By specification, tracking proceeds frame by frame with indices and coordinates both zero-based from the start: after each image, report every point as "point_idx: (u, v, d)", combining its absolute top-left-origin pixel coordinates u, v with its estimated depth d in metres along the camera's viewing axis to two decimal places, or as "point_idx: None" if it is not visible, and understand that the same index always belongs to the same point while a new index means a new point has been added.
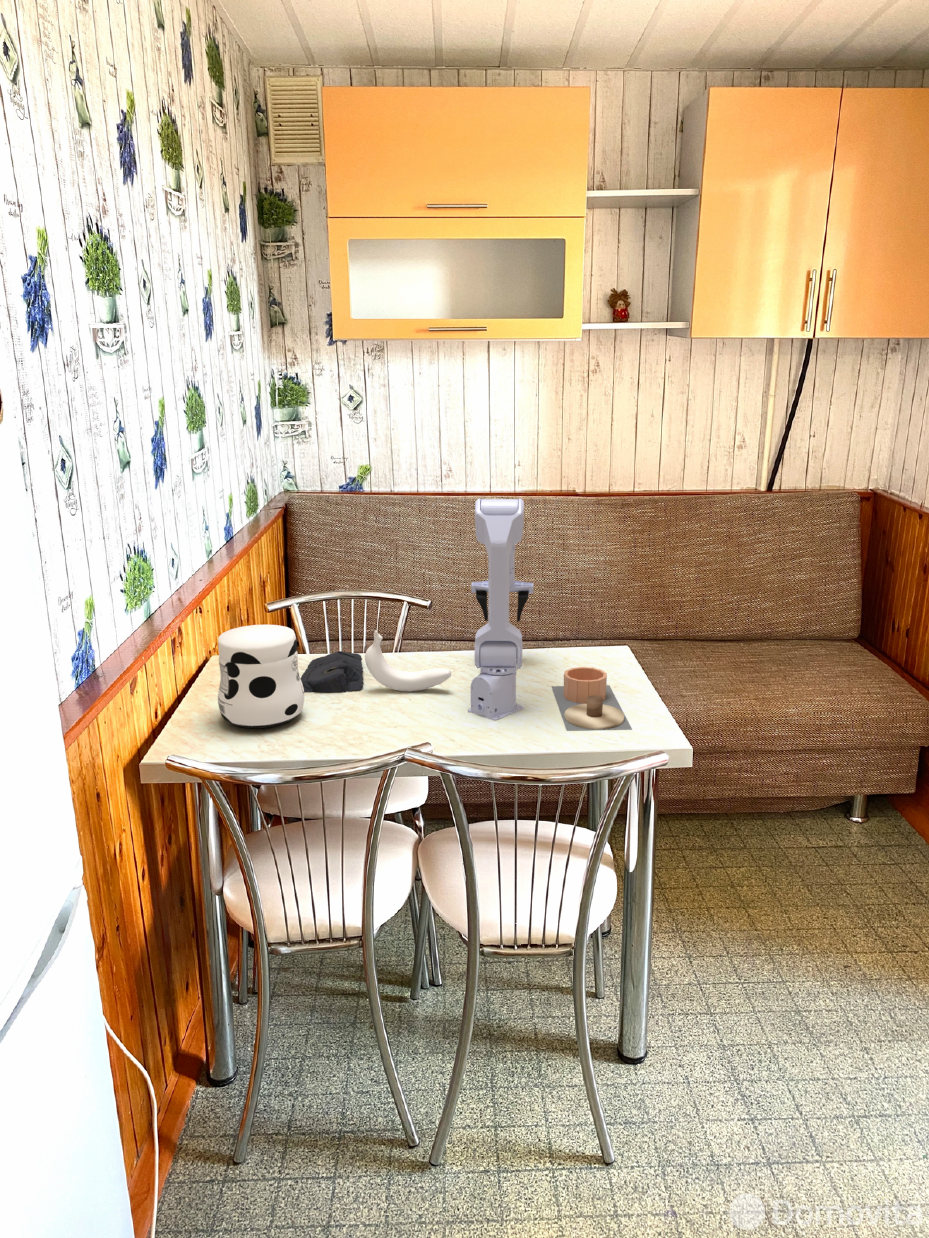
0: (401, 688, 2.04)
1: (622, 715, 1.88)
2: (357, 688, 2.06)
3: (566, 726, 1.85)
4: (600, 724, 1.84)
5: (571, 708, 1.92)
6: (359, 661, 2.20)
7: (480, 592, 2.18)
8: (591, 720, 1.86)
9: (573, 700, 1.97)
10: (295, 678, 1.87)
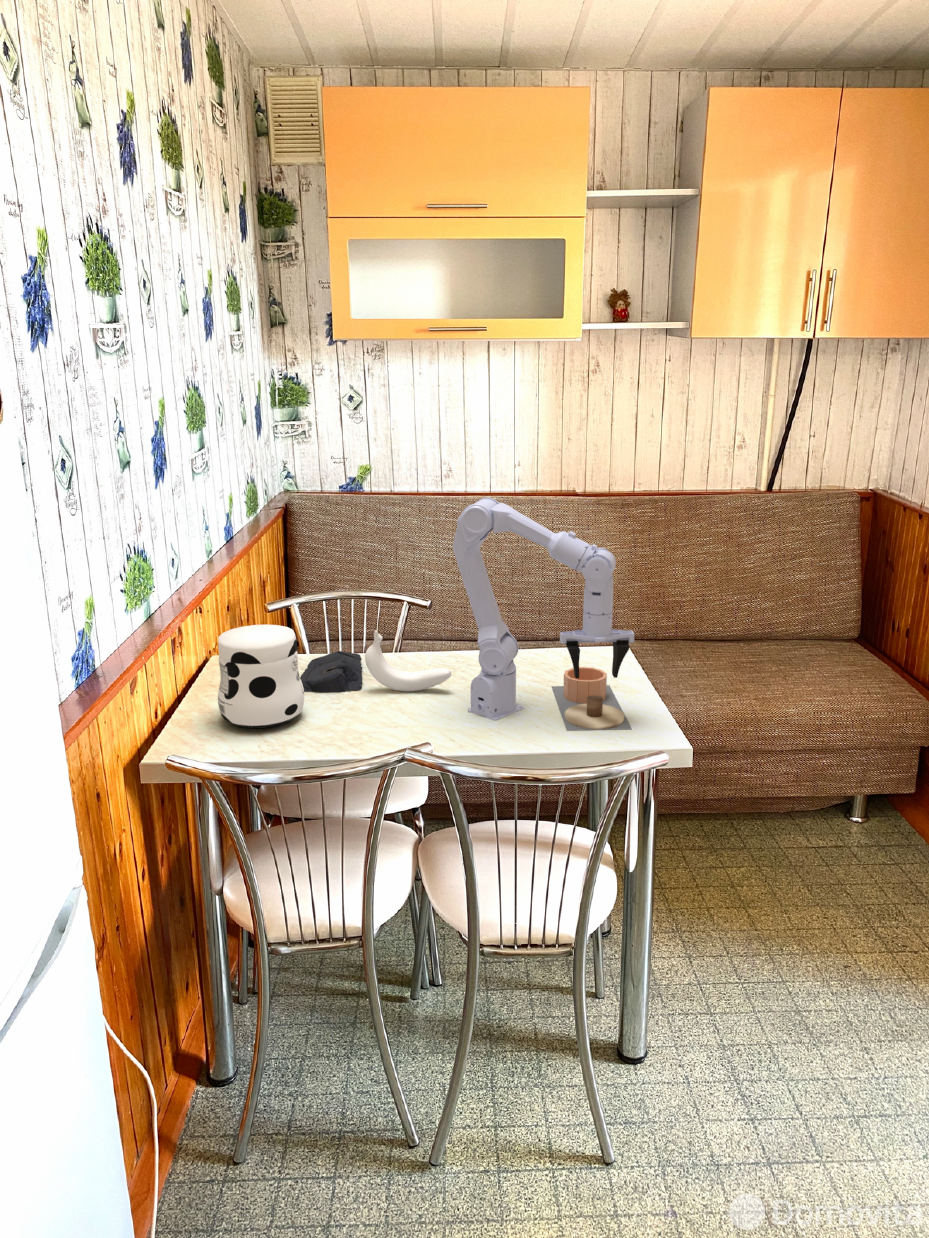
0: (401, 688, 2.04)
1: (622, 715, 1.88)
2: (356, 688, 2.06)
3: (566, 726, 1.85)
4: (600, 724, 1.84)
5: (571, 708, 1.92)
6: (358, 661, 2.20)
7: None
8: (591, 720, 1.86)
9: (573, 700, 1.97)
10: (295, 678, 1.87)
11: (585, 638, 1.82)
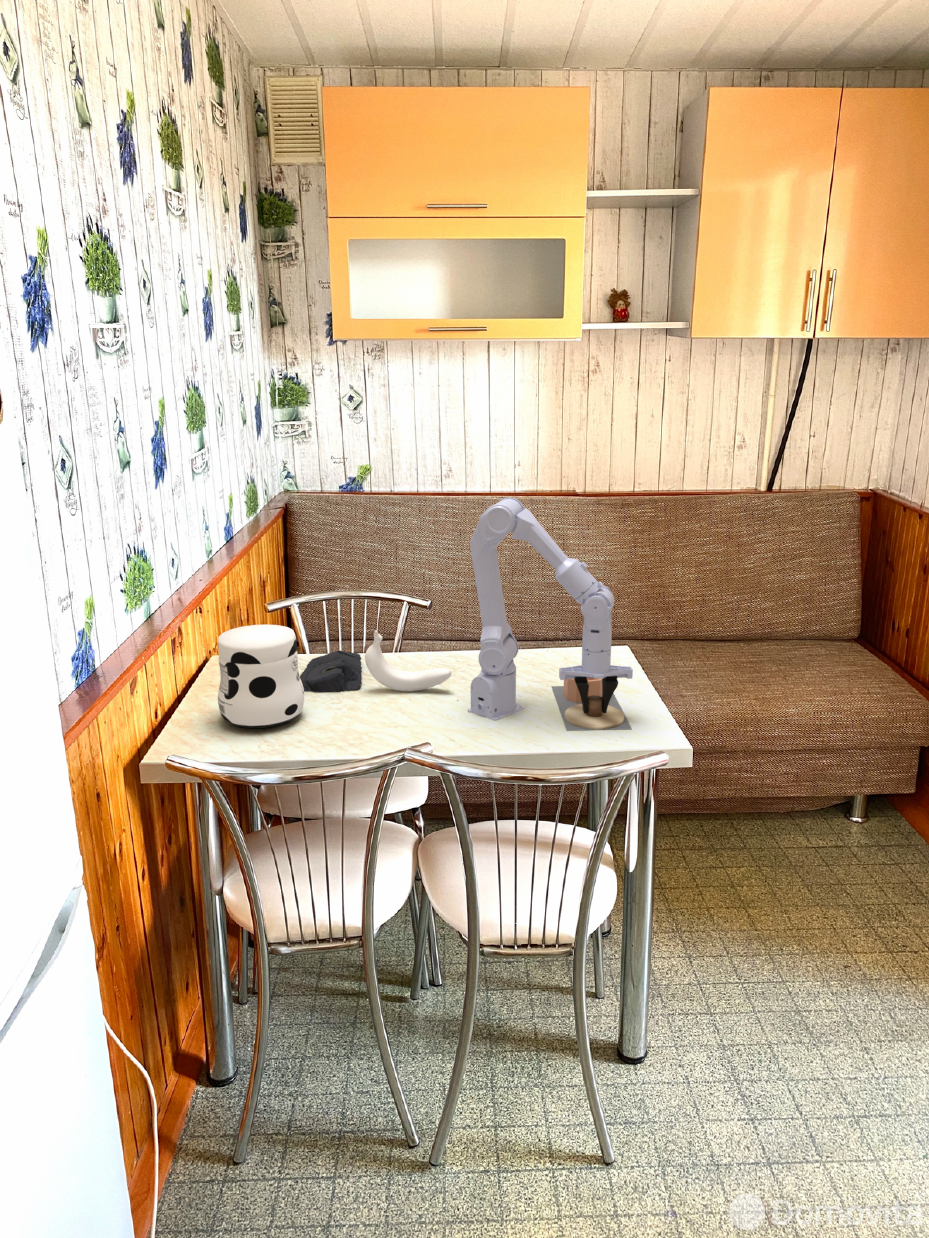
0: (401, 688, 2.04)
1: (622, 715, 1.88)
2: (355, 687, 2.06)
3: (566, 726, 1.85)
4: (600, 724, 1.84)
5: (571, 708, 1.92)
6: (358, 660, 2.21)
7: None
8: (591, 719, 1.86)
9: (573, 700, 1.97)
10: (295, 678, 1.87)
11: (584, 674, 1.84)
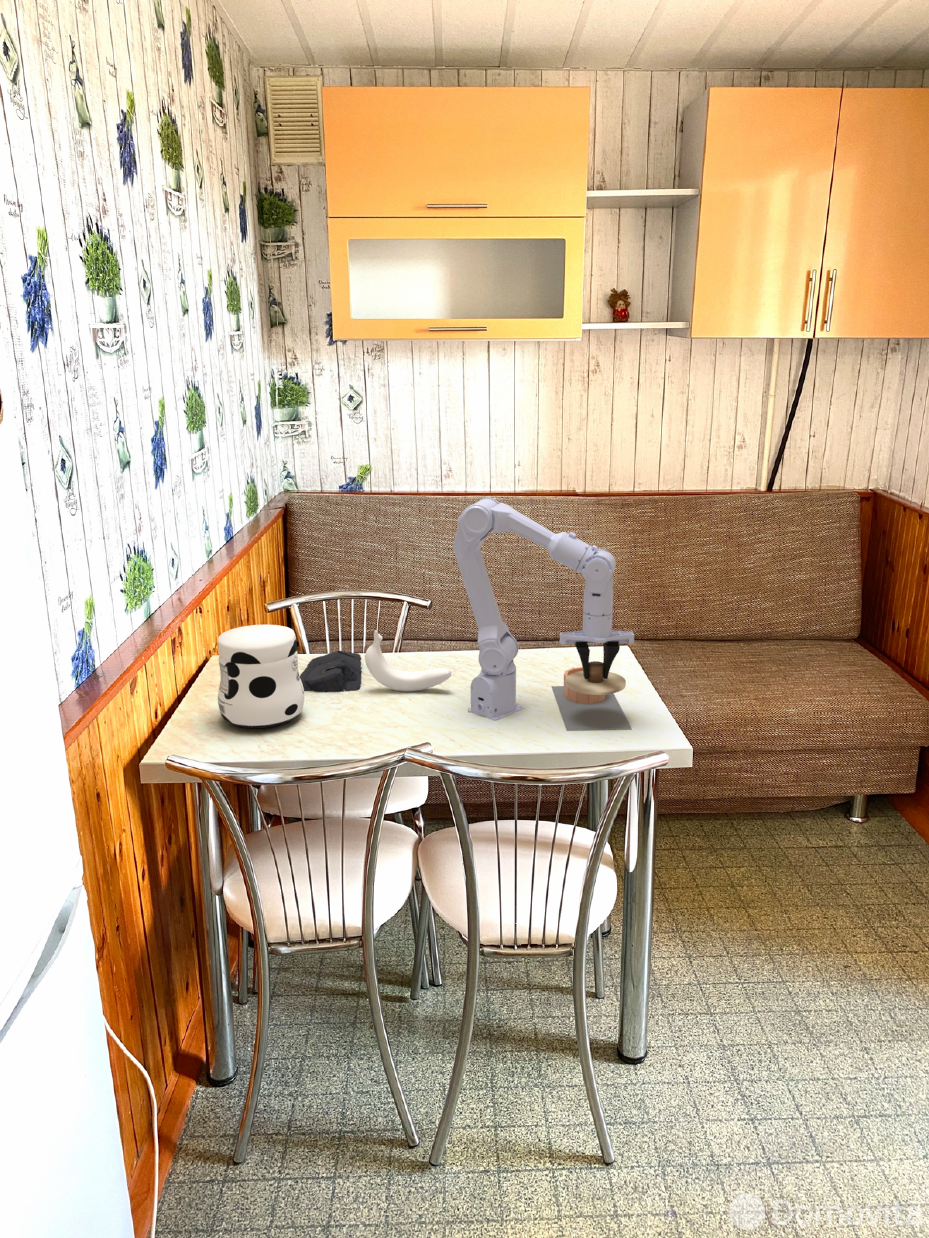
0: (401, 688, 2.04)
1: (623, 681, 1.86)
2: (354, 688, 2.07)
3: (566, 726, 1.85)
4: (601, 689, 1.82)
5: (572, 675, 1.90)
6: (358, 661, 2.21)
7: None
8: (592, 685, 1.84)
9: (573, 700, 1.97)
10: (295, 678, 1.87)
11: (585, 639, 1.82)
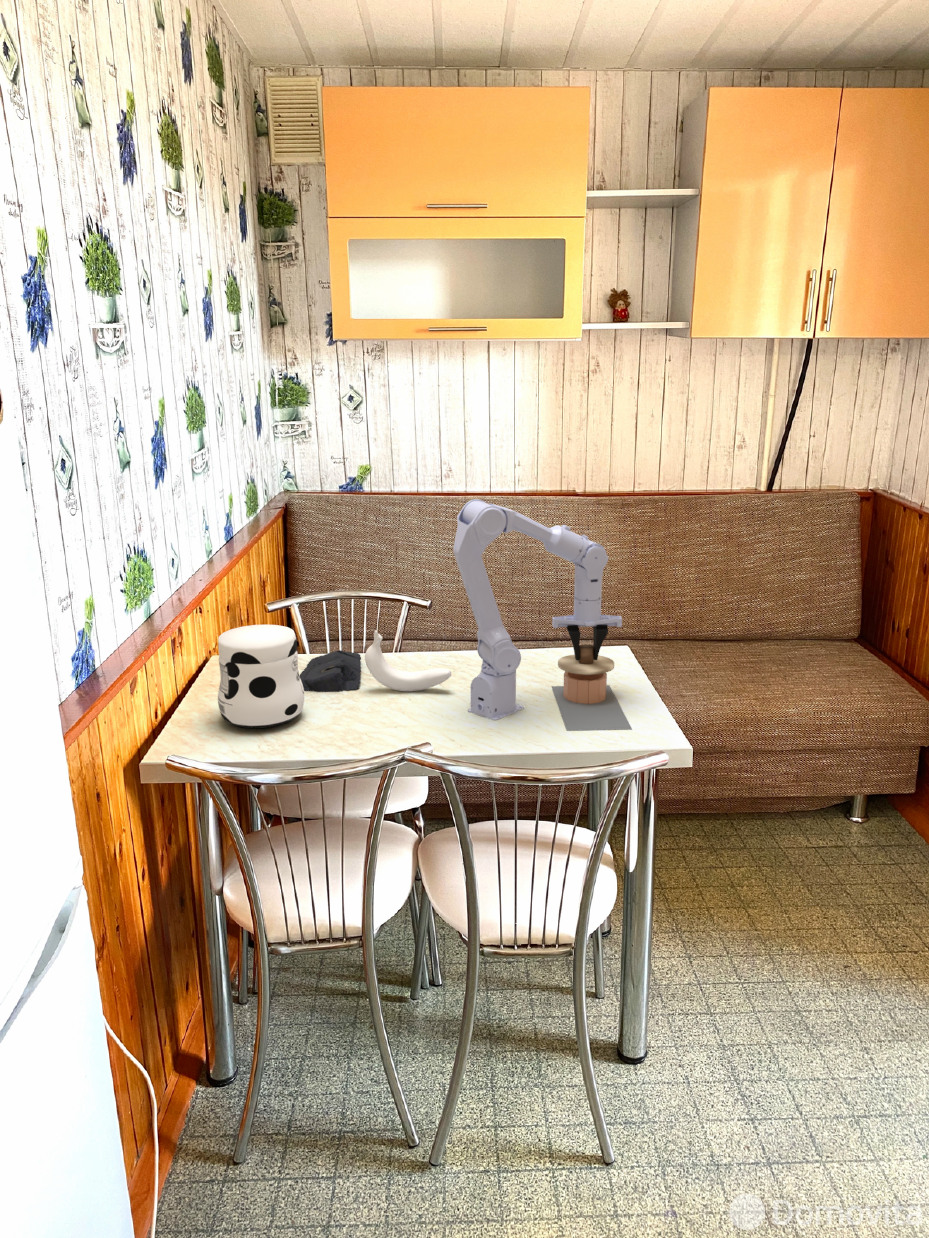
0: (401, 688, 2.04)
1: (612, 663, 1.98)
2: (354, 687, 2.07)
3: (566, 726, 1.85)
4: (591, 669, 1.93)
5: (564, 657, 2.02)
6: (358, 660, 2.21)
7: None
8: (583, 666, 1.96)
9: (573, 700, 1.97)
10: (295, 678, 1.87)
11: (576, 622, 1.94)
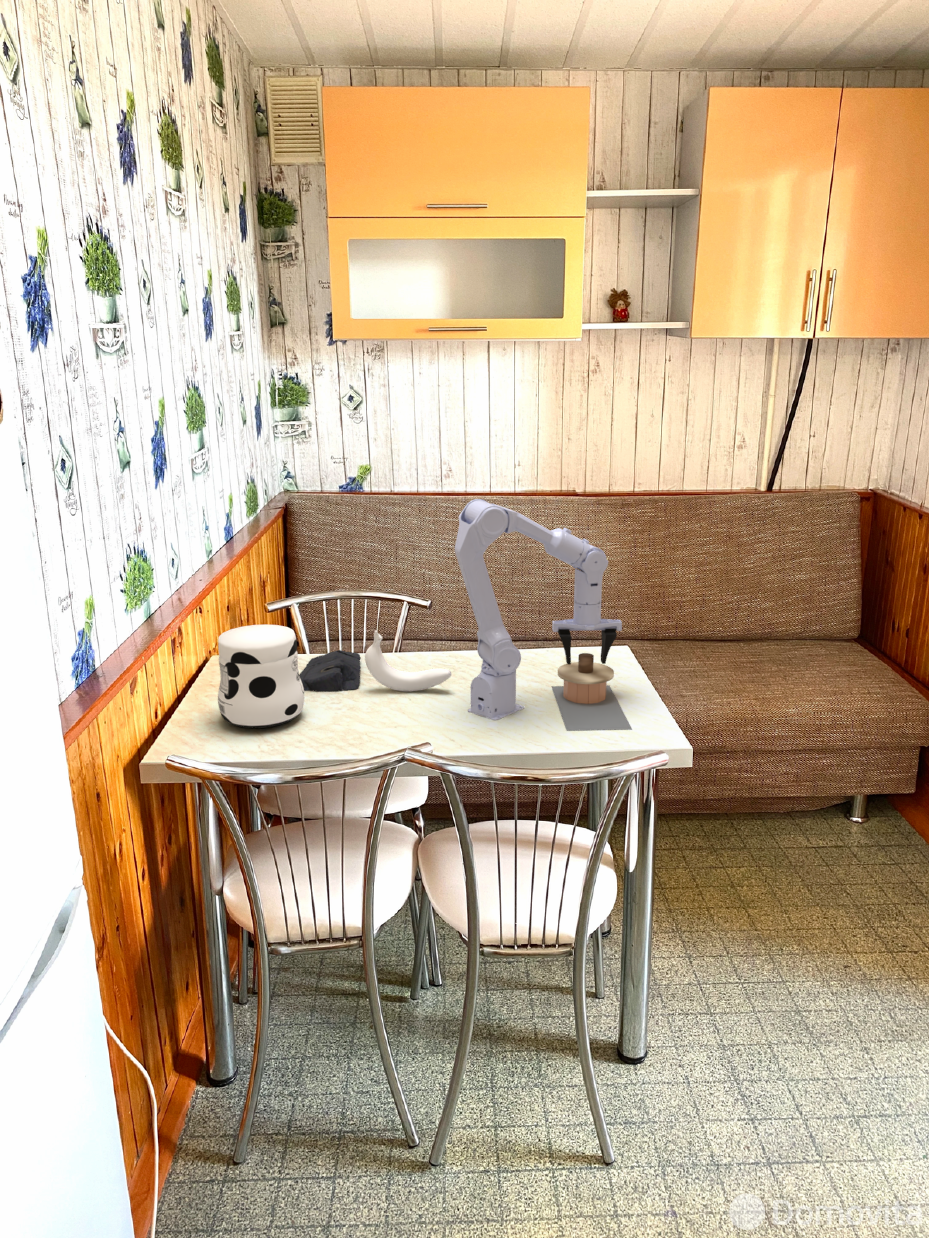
0: (401, 688, 2.04)
1: (611, 672, 1.98)
2: (353, 687, 2.07)
3: (566, 726, 1.85)
4: (591, 679, 1.94)
5: (563, 666, 2.02)
6: (357, 660, 2.21)
7: None
8: (583, 675, 1.96)
9: (573, 700, 1.97)
10: (295, 678, 1.87)
11: (576, 626, 1.94)
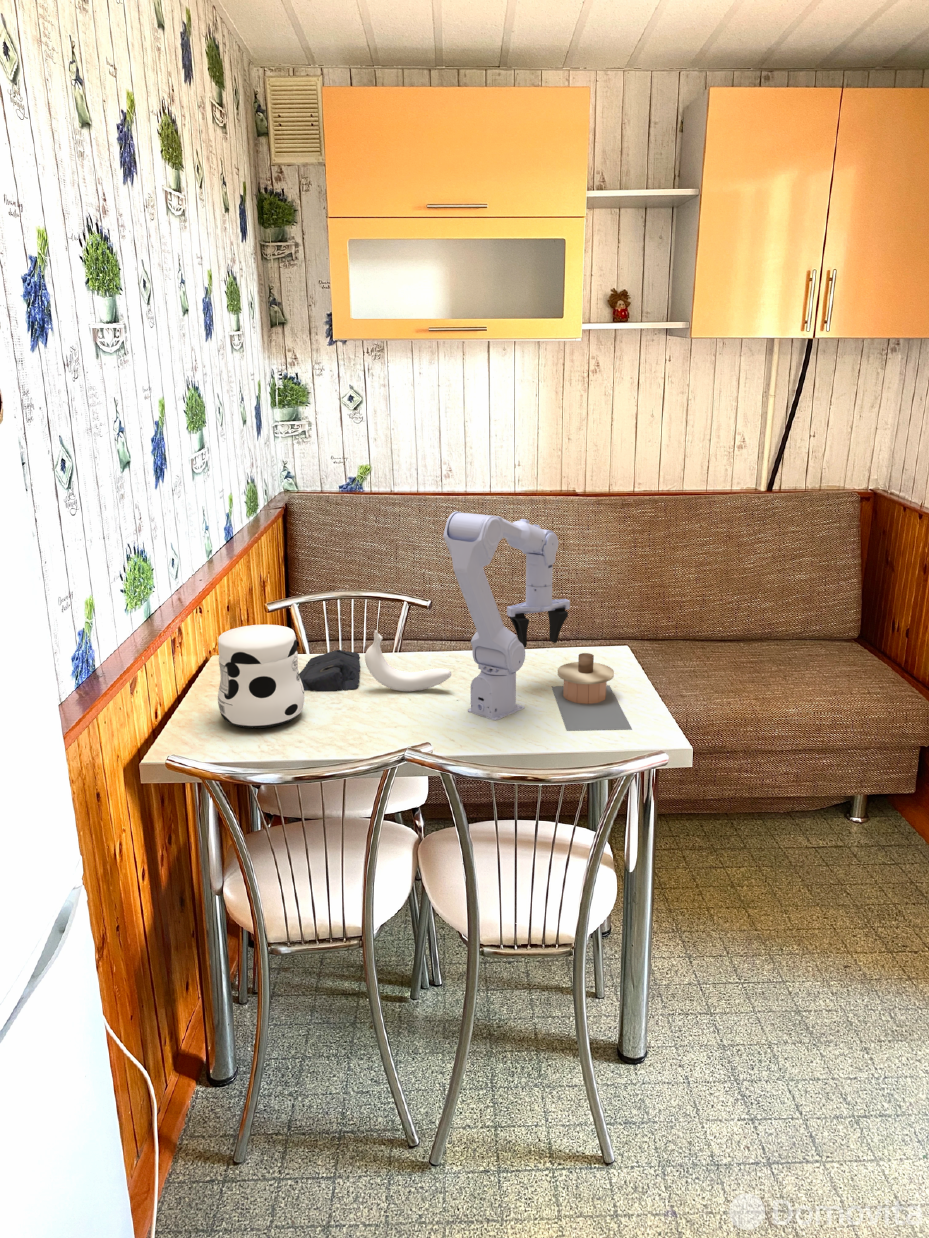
0: (401, 688, 2.04)
1: (611, 672, 1.98)
2: (352, 687, 2.07)
3: (566, 726, 1.85)
4: (591, 679, 1.94)
5: (563, 666, 2.02)
6: (357, 660, 2.21)
7: None
8: (583, 675, 1.96)
9: (573, 700, 1.97)
10: (295, 678, 1.87)
11: (532, 609, 1.98)
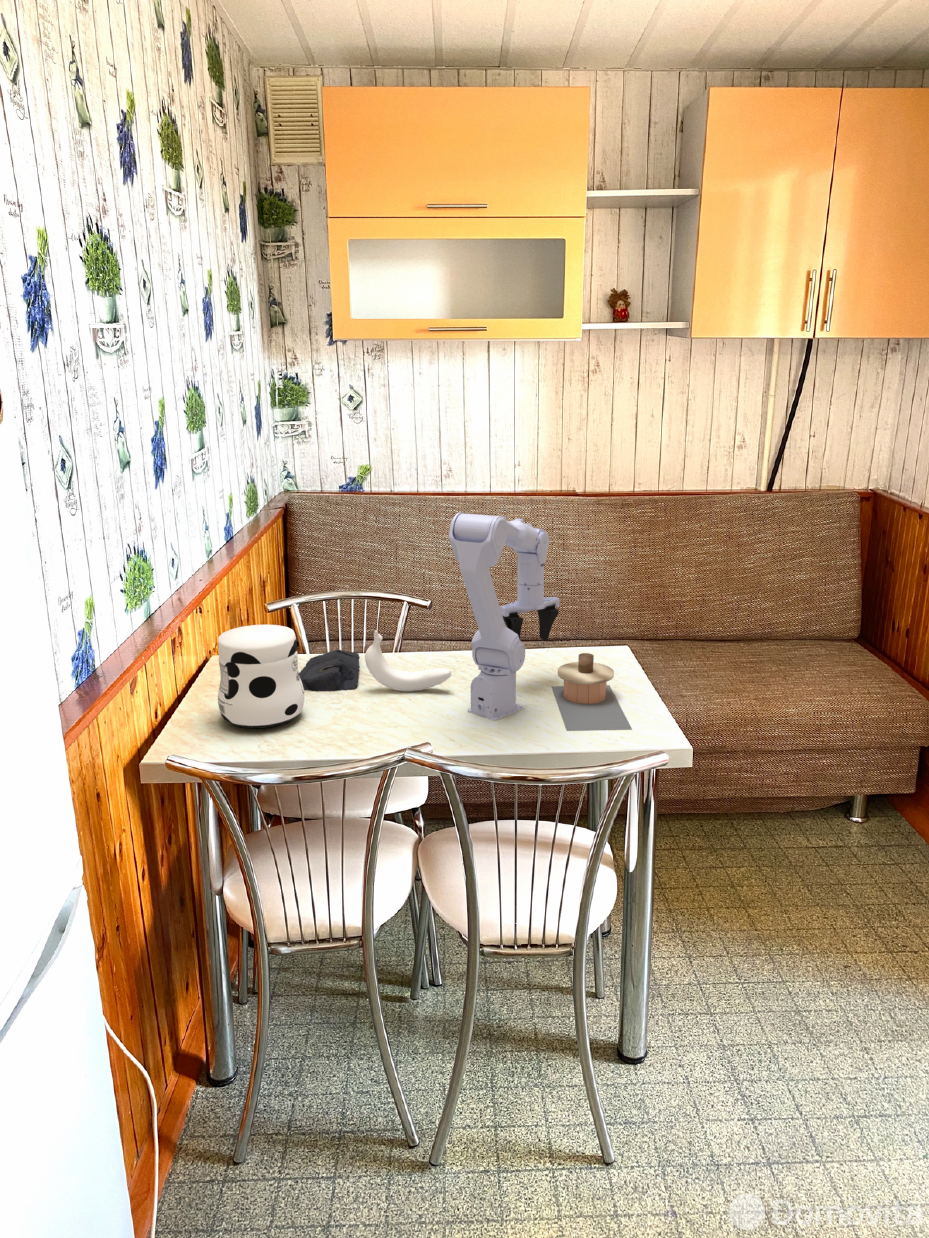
0: (401, 688, 2.04)
1: (611, 672, 1.98)
2: (352, 687, 2.07)
3: (566, 726, 1.85)
4: (591, 679, 1.94)
5: (563, 666, 2.02)
6: (356, 660, 2.21)
7: None
8: (583, 675, 1.96)
9: (573, 700, 1.97)
10: (295, 678, 1.87)
11: (526, 608, 1.99)
